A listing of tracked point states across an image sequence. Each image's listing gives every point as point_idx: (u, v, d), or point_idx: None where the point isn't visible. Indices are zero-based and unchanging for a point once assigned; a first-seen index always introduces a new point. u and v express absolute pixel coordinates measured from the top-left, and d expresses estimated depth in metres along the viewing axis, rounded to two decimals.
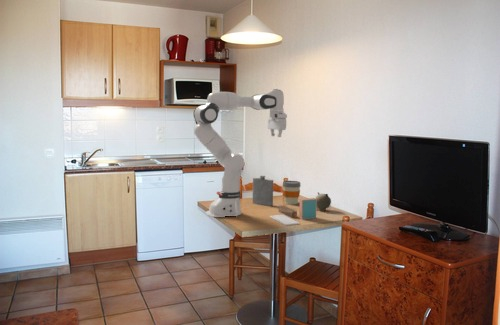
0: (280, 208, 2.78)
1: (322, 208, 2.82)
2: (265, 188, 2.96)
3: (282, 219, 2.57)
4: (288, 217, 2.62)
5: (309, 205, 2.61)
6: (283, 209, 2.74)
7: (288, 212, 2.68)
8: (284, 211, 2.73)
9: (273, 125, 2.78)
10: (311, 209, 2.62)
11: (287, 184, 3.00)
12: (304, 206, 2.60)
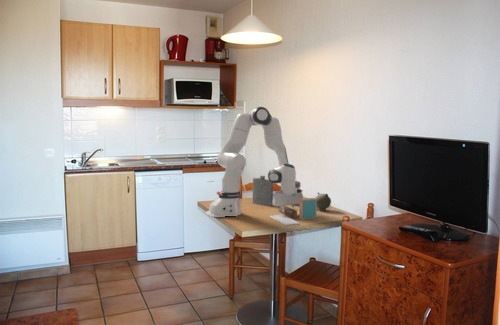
0: (280, 208, 2.78)
1: (322, 208, 2.82)
2: (265, 188, 2.96)
3: (282, 219, 2.57)
4: (288, 217, 2.62)
5: (309, 205, 2.61)
6: None
7: (288, 212, 2.68)
8: None
9: (288, 201, 2.70)
10: (311, 209, 2.62)
11: None
12: (304, 206, 2.60)
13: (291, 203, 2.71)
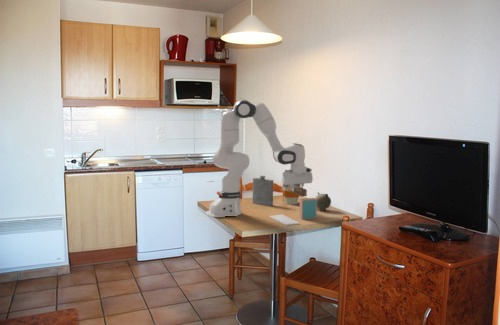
0: (290, 187, 2.80)
1: (322, 208, 2.82)
2: (265, 188, 2.96)
3: (282, 219, 2.57)
4: (288, 217, 2.62)
5: (309, 205, 2.61)
6: None
7: (298, 190, 2.70)
8: None
9: (297, 180, 2.72)
10: (311, 209, 2.62)
11: None
12: (304, 206, 2.60)
13: (301, 182, 2.74)
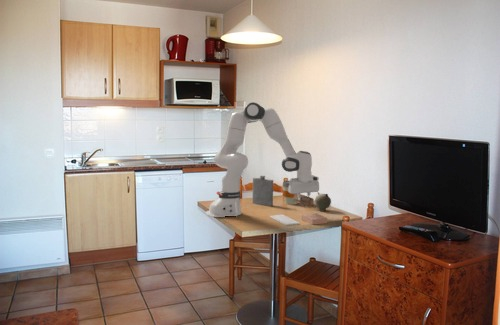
0: (295, 196, 2.73)
1: (322, 208, 2.82)
2: (265, 188, 2.96)
3: (282, 219, 2.57)
4: (288, 217, 2.62)
5: None
6: None
7: (304, 199, 2.63)
8: None
9: (304, 188, 2.65)
10: None
11: (287, 183, 3.00)
12: None
13: (307, 191, 2.66)
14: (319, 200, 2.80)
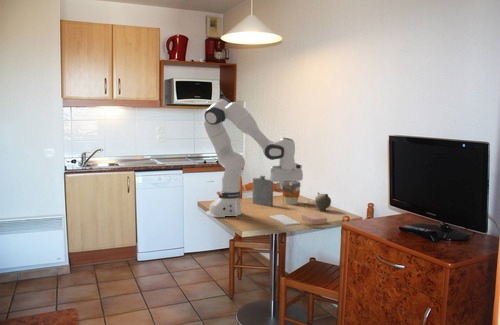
0: (278, 185, 2.62)
1: (322, 208, 2.82)
2: (265, 188, 2.96)
3: (282, 219, 2.57)
4: (288, 217, 2.62)
5: None
6: None
7: (287, 188, 2.52)
8: None
9: (286, 177, 2.54)
10: None
11: None
12: None
13: (290, 179, 2.55)
14: (319, 200, 2.80)
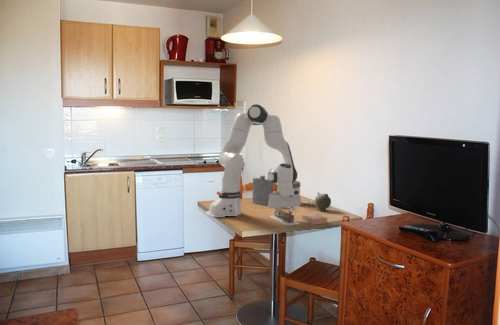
0: (276, 212, 2.62)
1: (322, 208, 2.82)
2: (265, 188, 2.96)
3: None
4: None
5: None
6: None
7: (285, 216, 2.52)
8: (280, 215, 2.58)
9: (284, 203, 2.54)
10: None
11: None
12: None
13: (288, 205, 2.55)
14: (319, 200, 2.80)
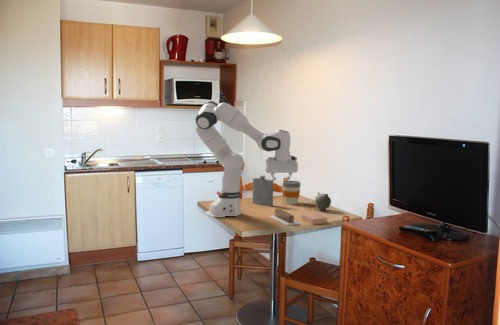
0: (276, 212, 2.62)
1: (322, 208, 2.82)
2: (265, 188, 2.96)
3: None
4: None
5: None
6: (279, 213, 2.59)
7: (285, 216, 2.52)
8: (280, 215, 2.58)
9: (281, 168, 2.59)
10: None
11: (287, 183, 3.00)
12: None
13: (285, 171, 2.60)
14: (319, 200, 2.80)
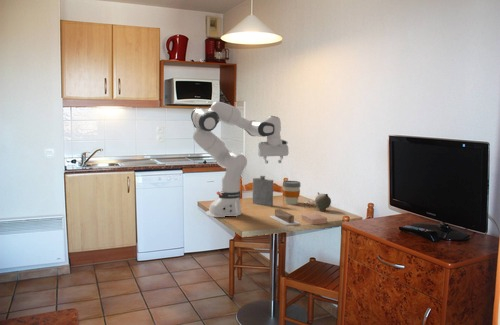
0: (276, 212, 2.62)
1: (322, 208, 2.82)
2: (265, 188, 2.96)
3: None
4: None
5: None
6: (279, 213, 2.59)
7: (285, 216, 2.52)
8: (280, 215, 2.58)
9: (273, 152, 2.75)
10: None
11: (287, 183, 3.00)
12: None
13: (276, 154, 2.77)
14: (319, 200, 2.80)
